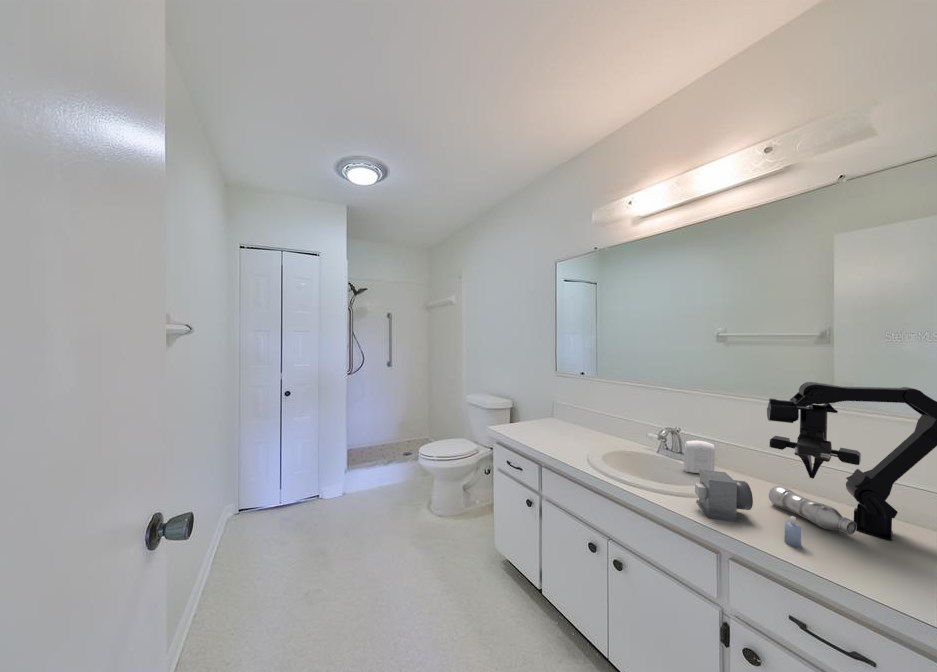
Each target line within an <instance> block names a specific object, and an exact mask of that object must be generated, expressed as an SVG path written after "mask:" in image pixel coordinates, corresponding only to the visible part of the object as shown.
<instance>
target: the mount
mask: <svg viewBox="0 0 937 672" xmlns="http://www.w3.org/2000/svg"><path fill="white" fill-rule="evenodd" d="M699 483H700V484H704V485H705V486H706V487H707V496H706V498H704V497H698V498H699V499H696V504H697V503H698V504H697V505H698V507H699V508H700V509H701V510H702V512H703V514H704V515H705V516H706V518H708V519H714V520H720V521H728V522H735V523H740V522H741V519H740V518H739V517H738V516H737V509H736V507H737V482H735V481H734V479H733V478H732V477H731V476H730V475H729V474H728V473H727V472H725V471H718V470H717V471H716V470H714V471H708V470H700V473H699Z"/></svg>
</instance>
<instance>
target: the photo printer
mask: <svg viewBox="0 0 937 672" xmlns="http://www.w3.org/2000/svg"><path fill="white" fill-rule="evenodd" d="M715 451H716V449H715V445H714V444H713V443H711V442H709V441H705V440H696V439H695V440H687V441H685V442H684V451H683V452H684V453H683V454H684V455H683V456H684V457H683V471H685V472H686V473H692V474H693V473H694V474H700V470H708V471H715V461H716V460H715V456H716V452H715Z"/></svg>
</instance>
